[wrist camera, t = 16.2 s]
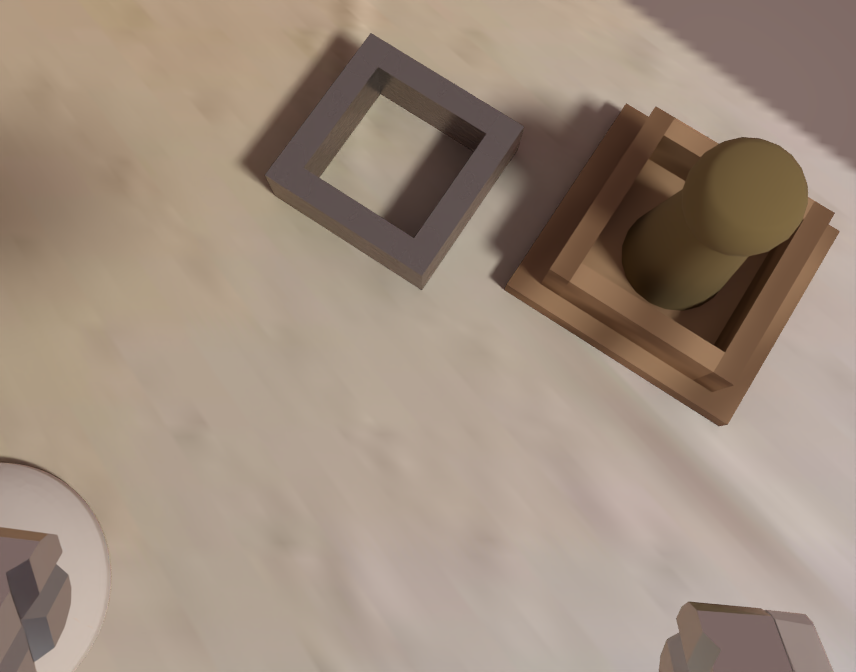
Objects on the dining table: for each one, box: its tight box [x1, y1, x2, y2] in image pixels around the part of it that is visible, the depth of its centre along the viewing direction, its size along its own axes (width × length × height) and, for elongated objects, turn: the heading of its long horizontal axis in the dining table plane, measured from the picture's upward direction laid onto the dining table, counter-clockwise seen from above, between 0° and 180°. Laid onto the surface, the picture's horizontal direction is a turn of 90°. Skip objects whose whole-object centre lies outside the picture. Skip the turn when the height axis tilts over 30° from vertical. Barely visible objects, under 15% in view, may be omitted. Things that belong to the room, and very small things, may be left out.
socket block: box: [265, 33, 524, 290], centre depth 44 cm, size 10×10×3 cm
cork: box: [622, 137, 808, 311], centre depth 38 cm, size 6×6×11 cm
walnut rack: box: [505, 104, 840, 426], centre depth 42 cm, size 14×13×4 cm
